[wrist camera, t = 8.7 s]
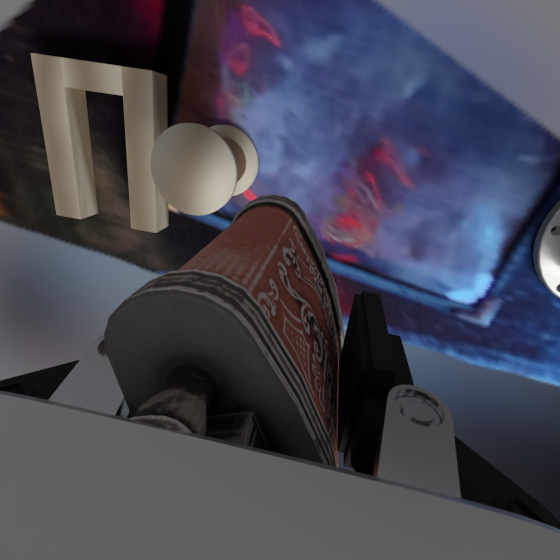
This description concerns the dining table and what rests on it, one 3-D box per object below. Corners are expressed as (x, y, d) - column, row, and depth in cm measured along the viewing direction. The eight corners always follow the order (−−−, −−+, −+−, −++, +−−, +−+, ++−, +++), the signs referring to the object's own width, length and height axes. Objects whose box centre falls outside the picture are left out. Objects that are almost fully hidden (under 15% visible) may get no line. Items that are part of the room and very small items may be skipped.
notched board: (166, 75, 27) (152, 70, 25) (168, 225, 33) (156, 233, 31) (54, 59, 28) (30, 52, 26) (75, 209, 33) (56, 214, 31)
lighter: (218, 209, 12) (-160, 453, 3) (308, 182, 11) (151, 419, 2) (283, 381, 15) (192, 770, 6) (359, 371, 14) (388, 819, 5)
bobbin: (262, 130, 28) (238, 130, 21) (255, 200, 31) (231, 222, 23) (194, 119, 28) (148, 116, 21) (193, 189, 31) (151, 207, 24)
